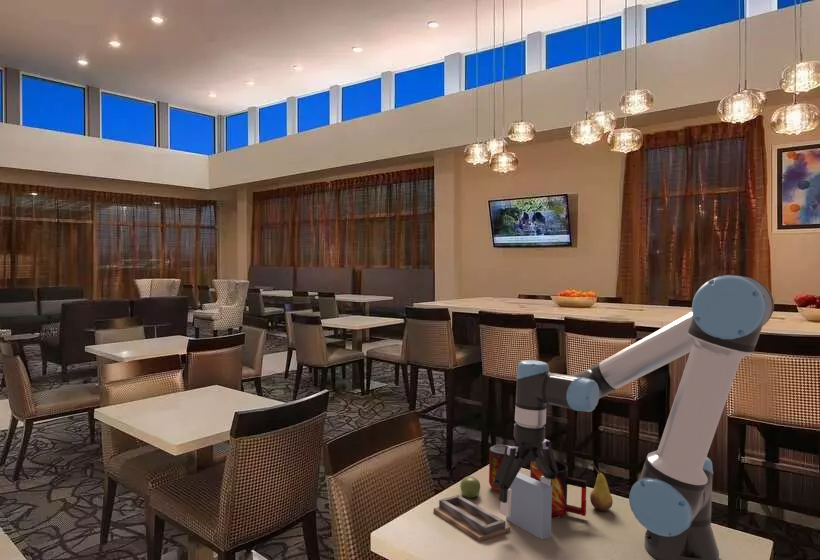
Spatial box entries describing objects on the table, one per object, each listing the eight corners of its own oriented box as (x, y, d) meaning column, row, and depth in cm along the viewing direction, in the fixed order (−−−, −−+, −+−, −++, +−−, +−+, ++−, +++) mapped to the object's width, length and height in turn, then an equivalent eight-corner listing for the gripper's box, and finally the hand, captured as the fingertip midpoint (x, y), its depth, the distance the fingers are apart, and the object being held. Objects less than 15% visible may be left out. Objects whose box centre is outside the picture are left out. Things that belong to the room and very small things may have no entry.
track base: (510, 530, 130) (510, 519, 130) (479, 541, 124) (479, 529, 124) (463, 503, 145) (463, 493, 145) (433, 512, 139) (433, 501, 139)
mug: (586, 520, 137) (587, 474, 137) (531, 516, 138) (533, 471, 138) (578, 504, 147) (579, 461, 146) (527, 501, 148) (528, 458, 148)
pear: (460, 478, 148) (461, 472, 158) (459, 499, 147) (460, 490, 157) (480, 480, 147) (480, 473, 157) (480, 500, 146) (479, 492, 156)
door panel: (550, 536, 128) (552, 486, 128) (542, 539, 126) (543, 489, 126) (514, 516, 138) (515, 470, 138) (506, 519, 136) (507, 473, 136)
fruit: (605, 516, 140) (606, 470, 139) (585, 508, 144) (587, 463, 144) (616, 510, 143) (618, 466, 143) (597, 503, 148) (598, 459, 147)
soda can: (516, 487, 157) (517, 446, 157) (508, 496, 151) (509, 452, 151) (493, 482, 160) (494, 441, 160) (485, 490, 154) (486, 448, 154)
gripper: (552, 414, 142) (548, 493, 142) (481, 425, 128) (476, 513, 128) (575, 421, 135) (571, 504, 136) (503, 434, 121) (498, 526, 122)
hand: (525, 509), depth 132 cm, fingers open, 13 cm apart
